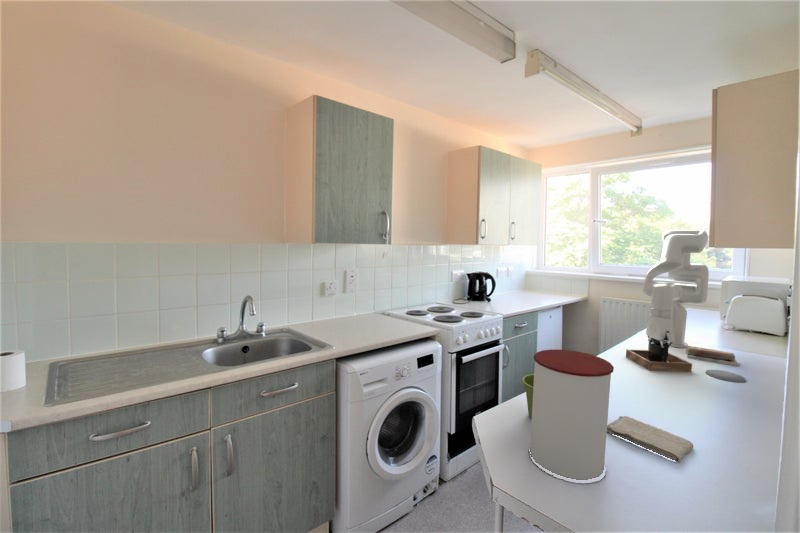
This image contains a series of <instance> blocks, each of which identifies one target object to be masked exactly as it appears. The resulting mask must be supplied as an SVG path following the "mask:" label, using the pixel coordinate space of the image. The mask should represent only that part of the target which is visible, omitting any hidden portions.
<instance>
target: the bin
mask: <svg viewBox="0 0 800 533" xmlns="http://www.w3.org/2000/svg"><path fill="white" fill-rule="evenodd" d="M625 357H626V359H628V360H630V361H632V362H634V363H635V364H637V365H639V366H640V367H642V368H644V369H646V370H647V371H651V372H652V371H654V372H655V371H656V372H678V373H679V372H681V373H692V370H693V363H691V362H689V361H687V360H685V359H682V358H680V357H679V356H677V355H675V354H673V353H670V352H668V357H667V362H651V361H649V360H648V349H628V348H627V349H626V350H625Z"/></svg>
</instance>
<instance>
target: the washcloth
mask: <svg viewBox="0 0 800 533" xmlns="http://www.w3.org/2000/svg"><path fill="white" fill-rule="evenodd" d="M607 432H609V433H611V434H614V435H617V436H620V437H622V438H624V439H627V440H629V441H631V442H633V443H635V444H637V445H640V446H642V447H644V448H646V449H649V450H652V451H653V452H656V453H658V454H660V455H663V456H665V457H667V458H670V459H672V460H675V461H676V462H678V463H681V462H682V461H683V459H684V458H685V456H686V454H687V455H688V454H689V453H691V451H692V450H693V449H694V443H692V442H691V441H690V440H688V439H686V438H683V437H680V436H678V435H676V434H673V433H670V432H669V431H666V430H663V429H661V428H658V427H656V426H654V425H650V424H647V423H645V422H643V421H640V420H637V419H635V418H633V417H630V416H627V415H624V416H618V418H617V419H615V420H614V421H611V422H609V423H607ZM609 433H608V434H609ZM611 434H610V435H611Z"/></svg>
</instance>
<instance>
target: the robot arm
mask: <svg viewBox="0 0 800 533" xmlns="http://www.w3.org/2000/svg"><path fill="white" fill-rule="evenodd" d="M708 239H709V237H708V233H707V231H706V230H704V229H670V230H669V229H668V230H666V231H664V232H663V233H662V242H663V247H662V253H661V257H660V261H658V262H657V263H656V264H655V265H653V266H651V268H649V270H648V271H647V272H646V274H645V277H644V281H643V284H642V294H643V295H644V297H646V298H650V299H651V300H650V301H651V303H650V314H649V315H648V320H647V324H646V334H645V335H647V338H648V339H647V340H648V344H649V343H650V342H652V338H653V339H656V340H658V341H660V343H661V347H660V353H659V356H661V357H668V353H669V349H670V347H671V348H679V347H680V348H682V349H683V348H684V347H685V348H688V346H689V344H688V343H687V342H685V340H686V338H685V337H686V328H687V319H688V312H687V311H688V310H687V309H686V308H685V306H684V305H683V304H689V305H698V306H699V305H700V306H701V305H704V304H706V302H707V301H708V300H707V298H708V289H709V275H710V272H709V267H708V266H707V265H705V264H702V263H694V262H693V263H691V254H700V253H702V252H703V251H704V249H705V247H706V246H707V243H708ZM666 273H667V276H668V278H669V280H671V281H674V283H673V282H666V281H665V282H664V281H653V280H655V278H657V277H658V276H660V275H663V274H666ZM675 282H677V283H675ZM678 282H681V283H678ZM684 283H685V284H684ZM686 283H693V284H686ZM663 339H665V340H663ZM663 342H665V344H664V343H663ZM647 350H649V345H648V349H647Z"/></svg>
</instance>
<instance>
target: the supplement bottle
mask: <svg viewBox="0 0 800 533" xmlns="http://www.w3.org/2000/svg"><path fill="white" fill-rule="evenodd" d="M663 340H665V339H663ZM663 343H664V344H665V342H663ZM648 346H649V350H648V349H647V350H648V358H647V360H649V361H651V362H668V361H667V357H661V356H659V353H660V347H661V343H660V341H658V340H656V339H653V338H652V342H650V343H649V342H648Z"/></svg>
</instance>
